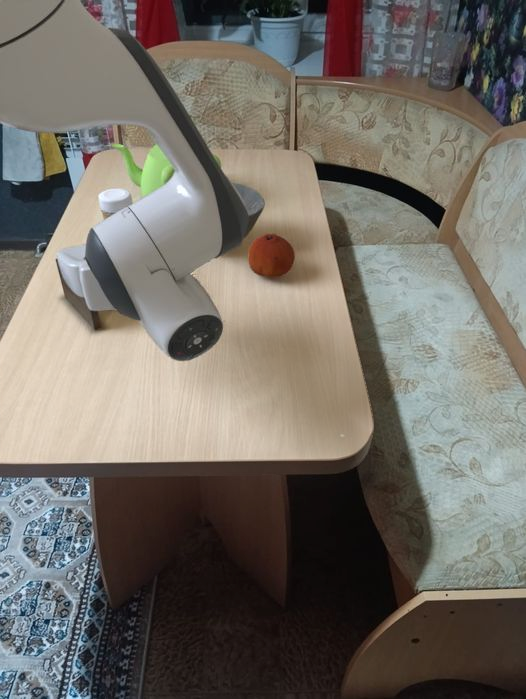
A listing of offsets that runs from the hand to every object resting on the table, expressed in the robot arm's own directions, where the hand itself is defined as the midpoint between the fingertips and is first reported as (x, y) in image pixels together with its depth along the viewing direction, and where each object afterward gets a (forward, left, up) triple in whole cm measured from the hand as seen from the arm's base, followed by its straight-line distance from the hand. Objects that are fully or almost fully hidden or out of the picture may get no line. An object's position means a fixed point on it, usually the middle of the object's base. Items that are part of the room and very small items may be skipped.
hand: (118, 231), depth 81 cm
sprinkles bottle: (0, -1, -7) cm, 7 cm away
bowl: (+24, +18, -17) cm, 35 cm away
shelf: (0, +8, -17) cm, 19 cm away
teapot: (+23, +42, -17) cm, 51 cm away
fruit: (+28, +3, -17) cm, 33 cm away
